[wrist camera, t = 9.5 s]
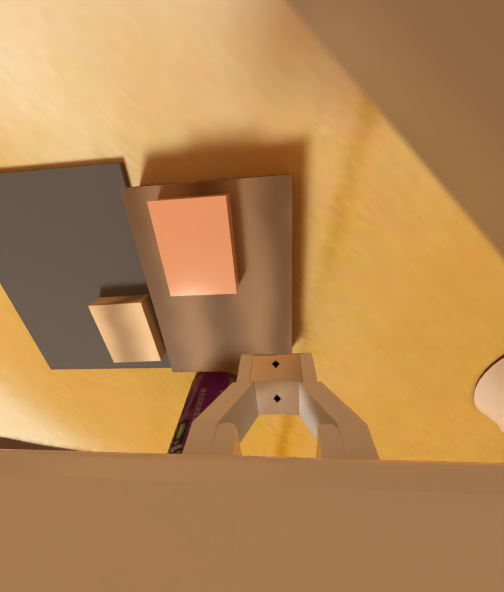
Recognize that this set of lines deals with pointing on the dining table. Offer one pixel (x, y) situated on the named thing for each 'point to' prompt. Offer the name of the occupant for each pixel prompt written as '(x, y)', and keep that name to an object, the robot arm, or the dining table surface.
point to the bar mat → (68, 258)
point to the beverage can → (198, 404)
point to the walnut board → (251, 273)
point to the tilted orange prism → (196, 244)
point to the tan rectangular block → (129, 328)
